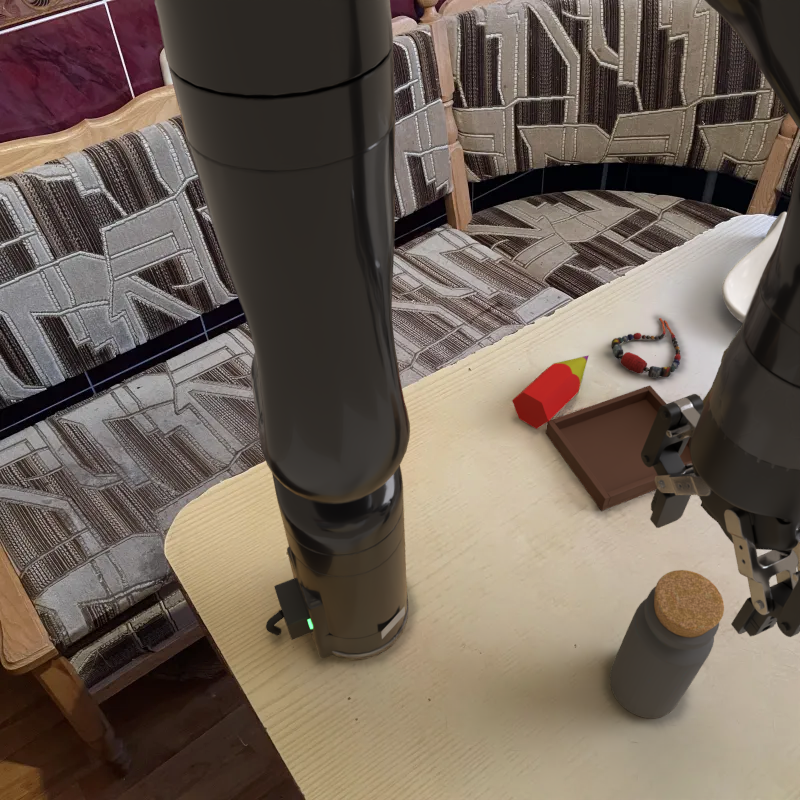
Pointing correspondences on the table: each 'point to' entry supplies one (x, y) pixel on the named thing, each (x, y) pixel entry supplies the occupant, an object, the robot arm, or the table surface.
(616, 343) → the necklace
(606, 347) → the table surface
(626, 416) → the tray
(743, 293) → the spoon rest
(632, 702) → the bottle
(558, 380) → the pencil
